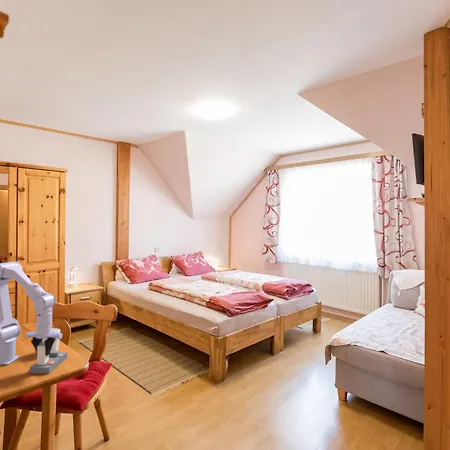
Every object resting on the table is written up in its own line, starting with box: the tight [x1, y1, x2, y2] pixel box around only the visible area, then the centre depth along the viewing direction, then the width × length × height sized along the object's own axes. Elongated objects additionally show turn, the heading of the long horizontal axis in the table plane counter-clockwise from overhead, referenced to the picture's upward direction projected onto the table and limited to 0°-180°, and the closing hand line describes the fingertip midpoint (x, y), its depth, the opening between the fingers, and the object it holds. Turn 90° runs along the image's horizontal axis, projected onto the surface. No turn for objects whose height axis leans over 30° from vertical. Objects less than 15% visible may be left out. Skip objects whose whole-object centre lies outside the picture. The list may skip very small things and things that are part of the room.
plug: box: [36, 342, 49, 365], centre depth 133 cm, size 3×3×9 cm
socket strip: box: [29, 351, 68, 374], centre depth 138 cm, size 8×15×3 cm, turn 1°
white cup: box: [42, 327, 61, 352], centre depth 151 cm, size 8×8×10 cm
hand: (43, 354), depth 134 cm, fingers closed on plug, 3 cm apart
